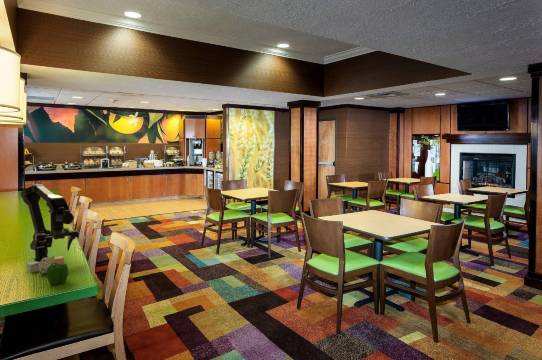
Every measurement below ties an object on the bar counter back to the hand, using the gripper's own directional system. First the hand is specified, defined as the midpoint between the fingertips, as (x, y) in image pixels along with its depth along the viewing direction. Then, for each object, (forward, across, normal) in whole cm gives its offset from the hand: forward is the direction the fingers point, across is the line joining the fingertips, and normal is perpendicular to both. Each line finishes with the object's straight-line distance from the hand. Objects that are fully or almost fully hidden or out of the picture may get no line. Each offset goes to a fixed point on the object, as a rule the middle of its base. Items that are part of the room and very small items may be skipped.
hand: (57, 252), depth 194 cm
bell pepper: (+7, -4, -29) cm, 30 cm away
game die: (+7, -6, -12) cm, 15 cm away
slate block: (+7, -11, -4) cm, 13 cm away
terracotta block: (+7, 0, 0) cm, 7 cm away
